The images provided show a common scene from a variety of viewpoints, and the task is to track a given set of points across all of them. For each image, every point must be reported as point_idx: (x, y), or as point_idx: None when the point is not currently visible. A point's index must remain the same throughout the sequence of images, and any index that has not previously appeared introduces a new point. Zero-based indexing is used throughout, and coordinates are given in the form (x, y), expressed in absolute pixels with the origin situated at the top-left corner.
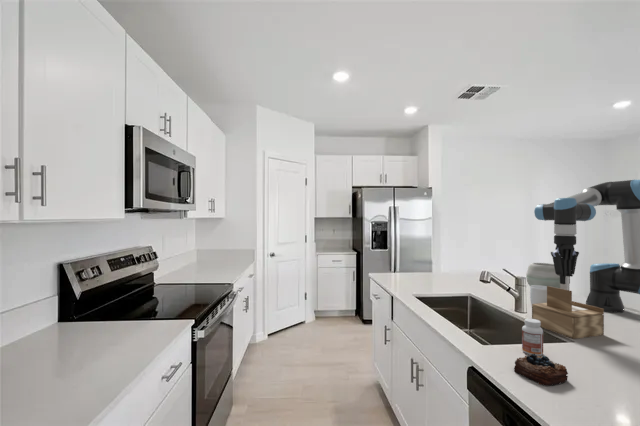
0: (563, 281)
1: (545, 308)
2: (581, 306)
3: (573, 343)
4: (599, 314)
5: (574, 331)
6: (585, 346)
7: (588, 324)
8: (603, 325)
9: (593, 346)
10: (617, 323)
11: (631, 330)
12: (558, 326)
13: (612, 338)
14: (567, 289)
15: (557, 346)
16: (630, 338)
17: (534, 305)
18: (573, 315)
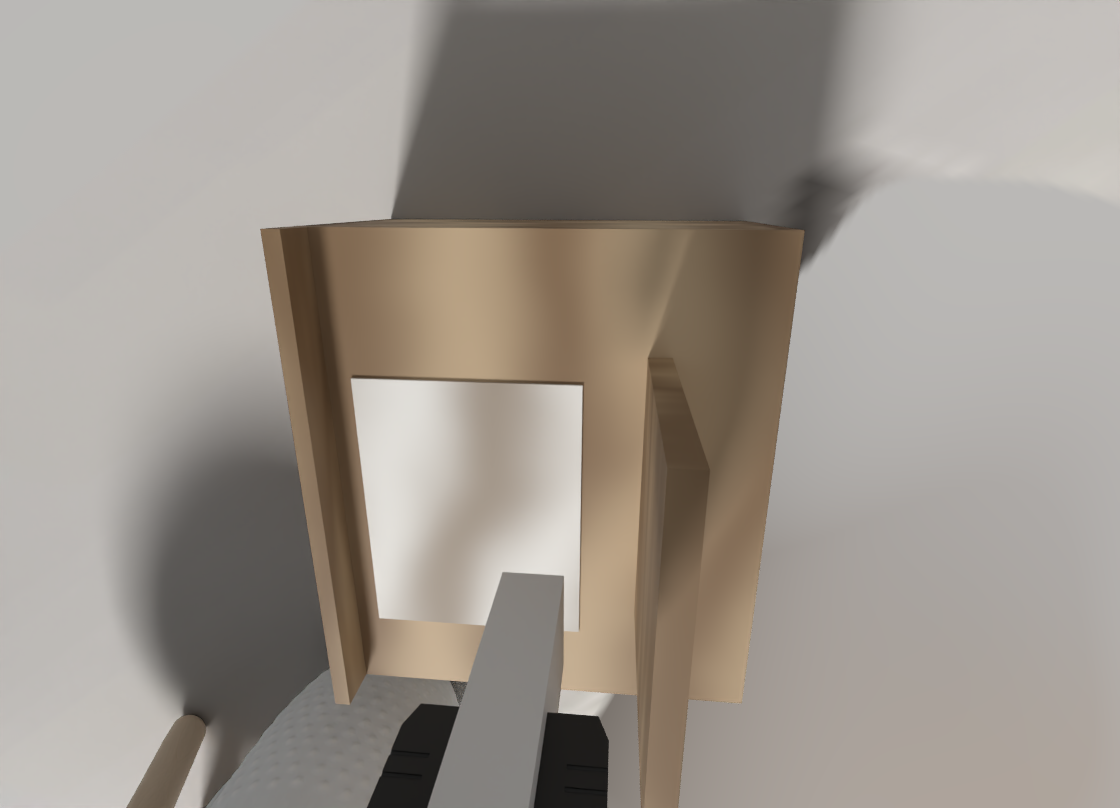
0: (592, 772)
1: (758, 562)
2: (332, 464)
3: (868, 135)
4: (364, 227)
5: (748, 223)
6: (847, 44)
7: (556, 224)
8: (359, 221)
9: (776, 23)
10: (15, 389)
11: (53, 237)
12: None
13: (398, 135)
14: (539, 609)
15: (1097, 116)
16: (245, 90)
17: (744, 671)
18: (785, 245)
